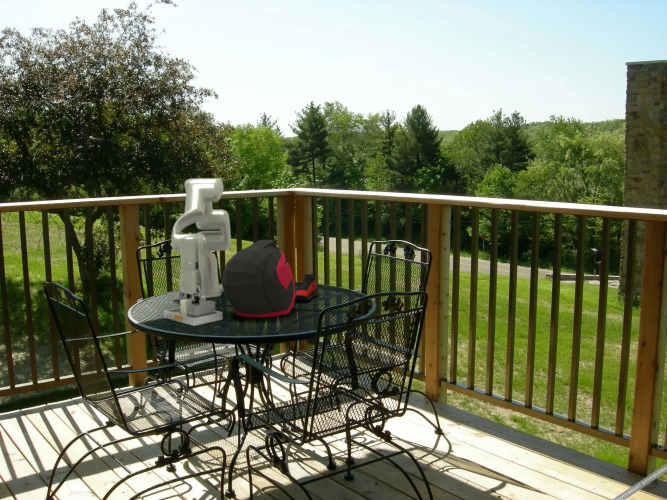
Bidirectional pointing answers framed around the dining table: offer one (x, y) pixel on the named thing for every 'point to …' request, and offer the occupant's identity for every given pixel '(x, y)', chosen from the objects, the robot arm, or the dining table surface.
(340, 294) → the dining table surface
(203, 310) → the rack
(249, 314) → the helmet
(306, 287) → the athletic shoe
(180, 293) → the rock
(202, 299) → the off-white rectangular block
